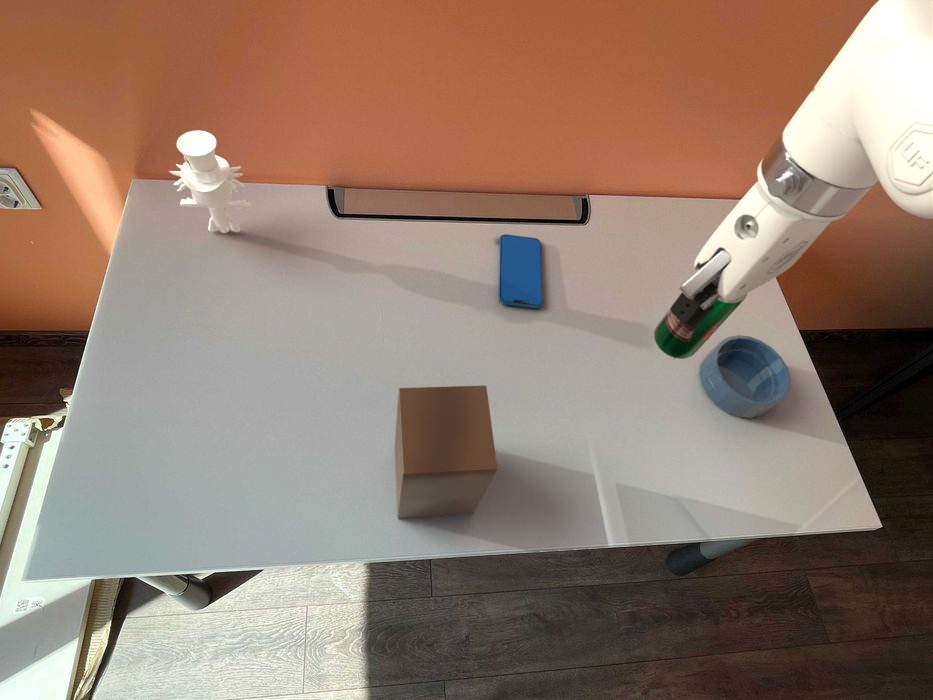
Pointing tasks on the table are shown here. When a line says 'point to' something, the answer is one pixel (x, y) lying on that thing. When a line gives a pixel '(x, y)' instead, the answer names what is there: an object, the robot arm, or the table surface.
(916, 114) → the robot arm
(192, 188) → the figurine
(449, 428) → the plinth
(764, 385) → the bowl
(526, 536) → the table surface
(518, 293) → the smartphone
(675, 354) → the soda can
